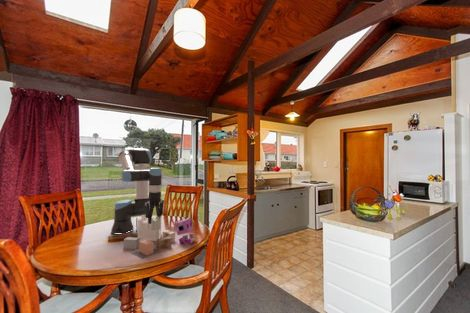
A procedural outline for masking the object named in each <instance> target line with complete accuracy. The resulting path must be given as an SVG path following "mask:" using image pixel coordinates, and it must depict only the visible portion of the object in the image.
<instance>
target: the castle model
mask: <svg viewBox="0 0 470 313" xmlns="http://www.w3.org/2000/svg"><path fill="white" fill-rule="evenodd" d="M162 216H163V215H161V217H160V220H161V221H162ZM162 236H163V231H162V228H161V229H159V230H156V231H155V230H152V229H149V228H148V218H146V217H145V215H142V216H141V217H140V218H138V220H137V238H140V240H139V242H140V241H143V240H147V241H150V242H157V239H159V238H162Z"/></svg>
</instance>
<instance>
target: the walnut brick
mask: <svg viewBox="0 0 470 313" xmlns="http://www.w3.org/2000/svg"><path fill="white" fill-rule="evenodd" d="M155 244H156V248H155V249H156V250H158V251H161V250H165V249H168V248H171V247H172V242H171V237H169V236H168V237H164V238H163V237H161V238H159V239H157V241H156V243H155Z"/></svg>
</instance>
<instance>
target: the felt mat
mask: <svg viewBox="0 0 470 313" xmlns="http://www.w3.org/2000/svg"><path fill="white" fill-rule="evenodd" d="M161 252H162V251H161V250H158V249H157V248H153V253H152V254H150V255H145V254H143V253H140V252H139V250H136V251H133V252H131V253H130V254H131V255H133V256H135V257H137V258H140V259H142V260H145V259H147V258H149V257H152V256H154V255H156V254H159V253H161Z"/></svg>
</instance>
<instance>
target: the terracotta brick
mask: <svg viewBox="0 0 470 313" xmlns="http://www.w3.org/2000/svg"><path fill="white" fill-rule="evenodd" d="M138 248H139V249H138V251H139V252H140V253H143V254H145V255H150V254H152V253H153V249H154V241H147V240H143V241H140V242H139V247H138Z"/></svg>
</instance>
